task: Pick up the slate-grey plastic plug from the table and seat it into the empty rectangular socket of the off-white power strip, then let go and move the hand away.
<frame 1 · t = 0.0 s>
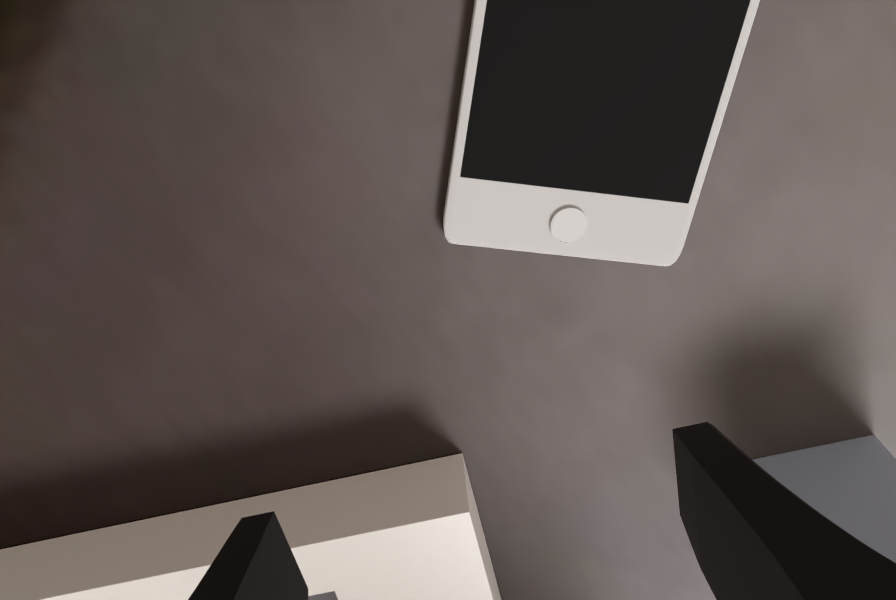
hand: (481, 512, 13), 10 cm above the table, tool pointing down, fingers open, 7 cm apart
plug: (808, 488, 27), on the table
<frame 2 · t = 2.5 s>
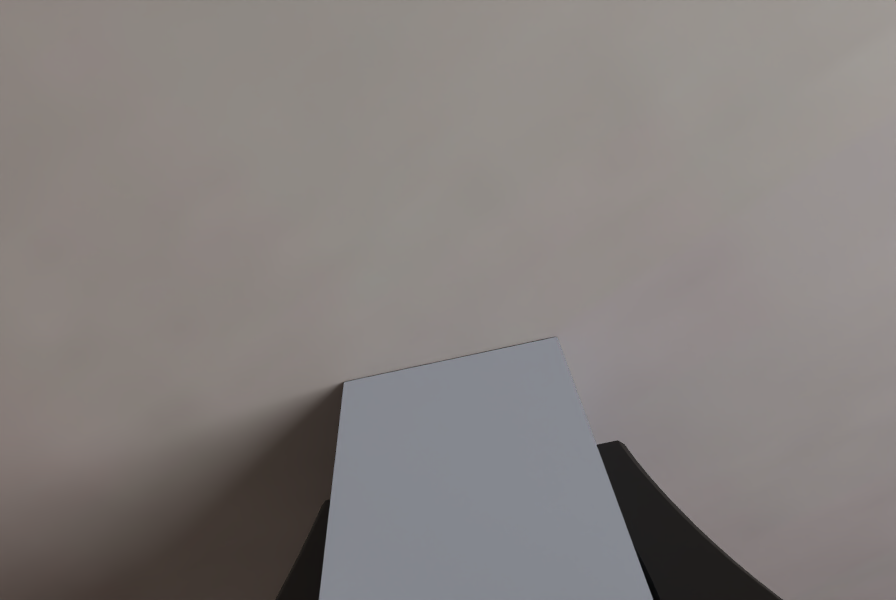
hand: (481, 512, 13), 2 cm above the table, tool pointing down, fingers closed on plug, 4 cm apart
plug: (473, 453, 15), on the table, touching gripper
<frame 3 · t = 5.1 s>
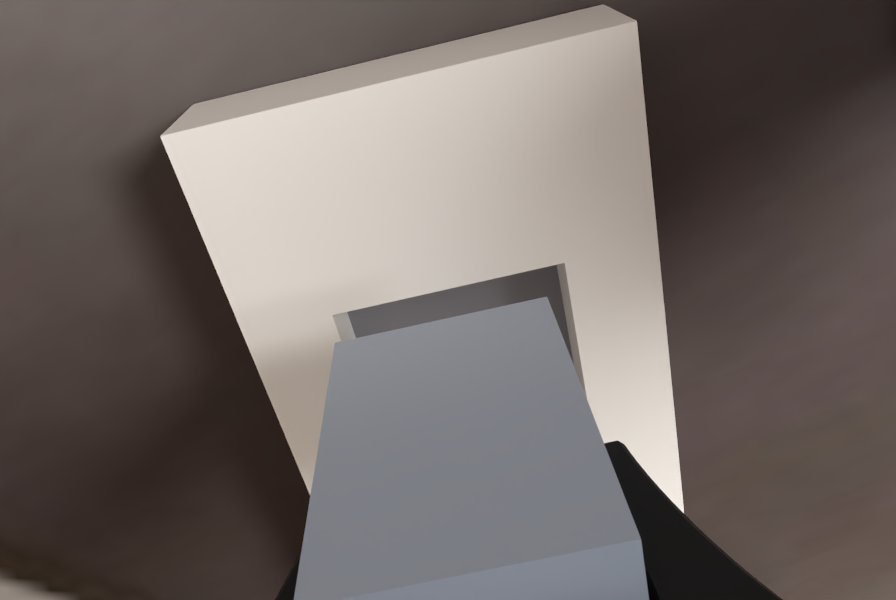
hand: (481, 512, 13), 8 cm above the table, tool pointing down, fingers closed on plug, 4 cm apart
power strip: (478, 391, 22), on the table
plug: (464, 417, 15), point 6 cm above the table, touching gripper
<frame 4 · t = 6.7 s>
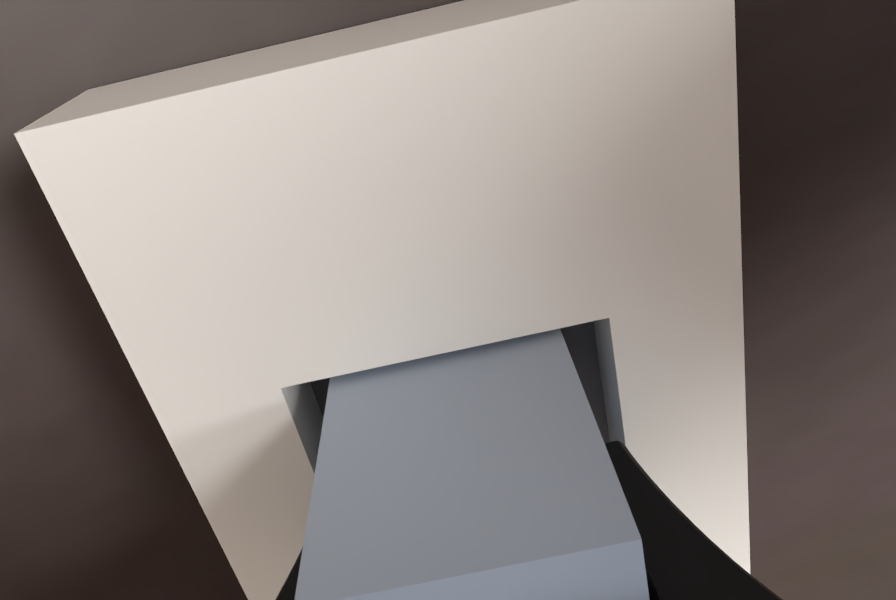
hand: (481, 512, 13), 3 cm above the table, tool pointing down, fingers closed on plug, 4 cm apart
power strip: (483, 468, 17), on the table
plug: (465, 417, 15), point 1 cm above the table, touching gripper
when the fingers open (3 cm above the table, at t = 7.0 s): plug stays where it is, resting on power strip.
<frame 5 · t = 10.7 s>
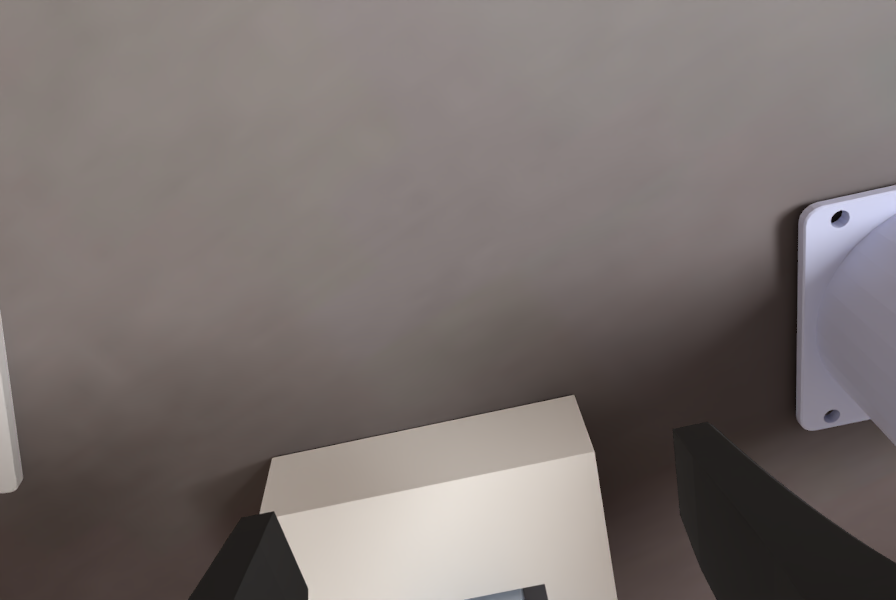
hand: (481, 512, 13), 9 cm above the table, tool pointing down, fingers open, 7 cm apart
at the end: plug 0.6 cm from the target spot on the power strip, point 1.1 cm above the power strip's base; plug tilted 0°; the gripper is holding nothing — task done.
